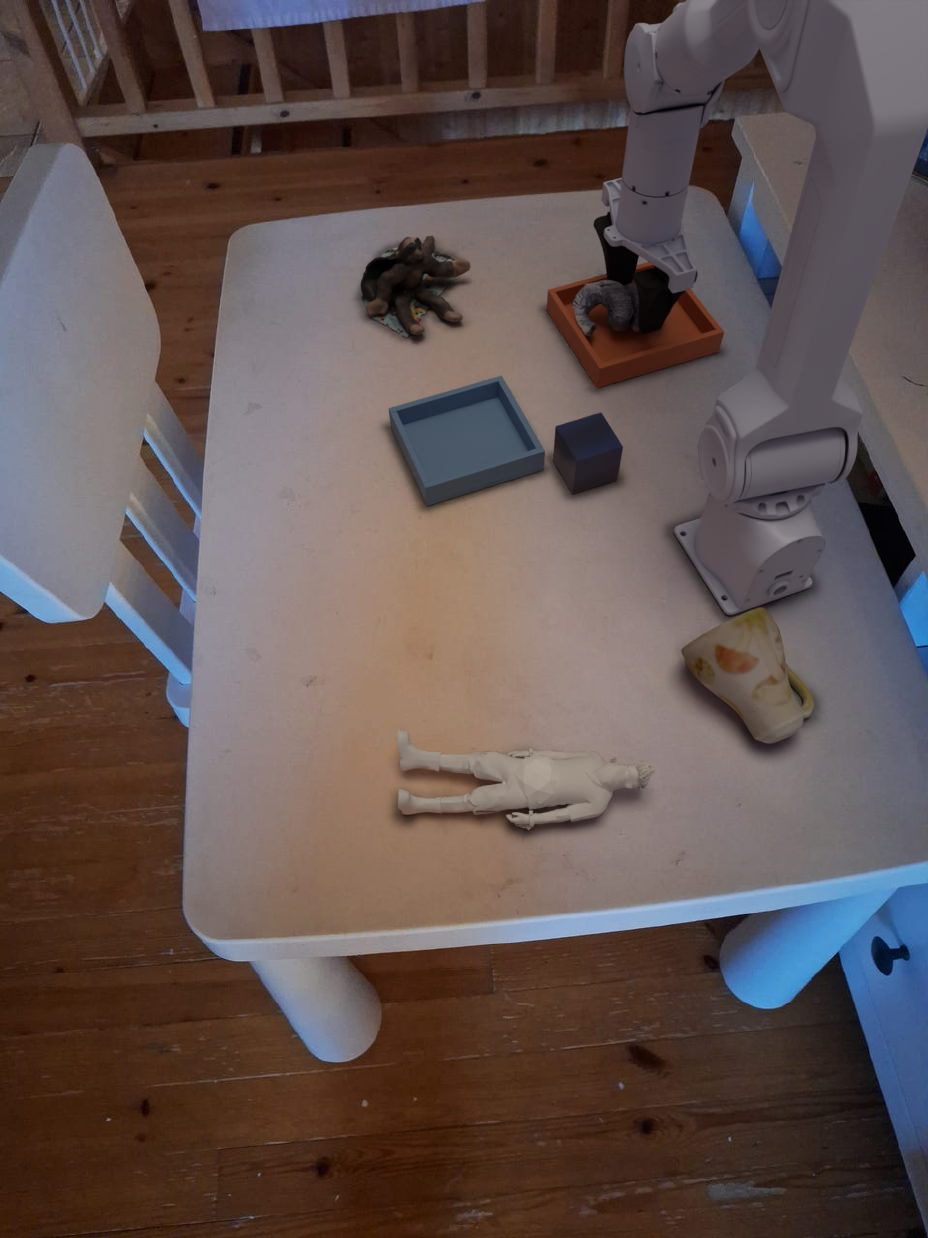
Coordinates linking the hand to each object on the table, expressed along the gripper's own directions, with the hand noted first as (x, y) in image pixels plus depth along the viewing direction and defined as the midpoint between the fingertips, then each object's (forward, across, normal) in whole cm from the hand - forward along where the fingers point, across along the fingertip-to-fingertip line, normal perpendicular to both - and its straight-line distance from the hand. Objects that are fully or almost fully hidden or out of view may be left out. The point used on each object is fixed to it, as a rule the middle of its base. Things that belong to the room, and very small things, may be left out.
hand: (634, 308), depth 88 cm
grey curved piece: (+2, 0, -1) cm, 3 cm away
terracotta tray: (+3, 0, 0) cm, 3 cm away
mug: (+3, +40, -10) cm, 41 cm away
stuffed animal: (+3, -14, -18) cm, 23 cm away
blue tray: (+3, +8, -21) cm, 23 cm away
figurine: (+3, +41, -29) cm, 50 cm away
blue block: (+3, +15, -12) cm, 19 cm away
